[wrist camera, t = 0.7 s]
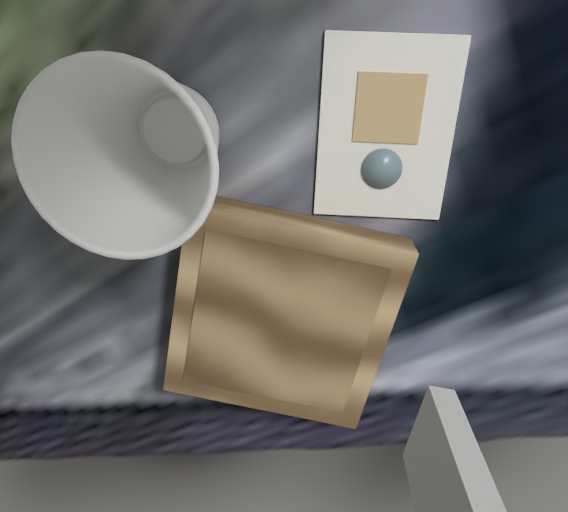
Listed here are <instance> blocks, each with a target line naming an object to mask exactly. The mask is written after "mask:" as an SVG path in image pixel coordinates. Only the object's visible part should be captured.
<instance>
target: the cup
mask: <svg viewBox="0 0 568 512" xmlns="http://www.w3.org/2000/svg"><path fill="white" fill-rule="evenodd" d="M219 134H220V133H219V125H218V121H217V118H216V115H215V113H214V111H213V109H212V107H211V106H210V105H209V103H208V102H207V101H206V99H205V98H203V97H202V96H201V95H200V94H199V93H198V92H196V91H194V90H193V89H191V88H189V87H187V86H185V85H183V84H181V83H179V82H177V81H175V80H174V79H173V78H172V77H171V76H169V75H168V74H167V73H166V72H164V71H162V70H161V69H159V68H157V67H156V66H154V65H152V64H150V63H149V62H147V61H145V60H142V59H139V58H136V57H133V56H131V55H128V54H125V53H118V52H111V51H103V50H100V51H88V52H79V53H76V54H73V55H70V56H67V57H64V58H61V59H59V60H57V61H55V62H54V63H52V64H51V65H49V66H47V67H46V68H44V69H43V70H42V71H41V72H40V73H39V74H38V75H37V76H36V77H35V78H34V79H33V80H32V81H31V82H30V83H29V84H28V86H27V88H26V90H25V91H24V93H23V95H22V96H21V98H20V100H19V102H18V105H17V108H16V112H15V115H14V118H13V123H12V135H11V145H12V154H13V162H14V165H15V168H16V171H17V175H18V178H19V181H20V183H21V185H22V187H23V189H24V191H25V193H26V195H27V197H28V199H29V201H30V202H31V203H32V205H33V206H34V207H35V209H36V210H37V211H38V213H39V214H40V216H41V217H42V218H43V219H44V220H45V221H46V222H47V223H48V224H49V225H50V226H51V227H52V228H53V229H54V230H55V231H57V232H58V233H59V234H61V235H62V236H63V237H65V238H66V239H68V240H69V241H70V242H72V243H74V244H76V245H78V246H80V247H82V248H84V249H86V250H87V251H89V252H93V253H96V254H99V255H102V256H105V257H109V258H116V259H124V260H134V259H147V258H151V257H155V256H160V255H163V254H165V253H167V252H169V251H172V250H174V249H176V248H178V247H179V246H181V245H182V244H183V243H185V242H186V241H187V240H189V239H190V238H191V237H193V235H194V234H195V233H196V232H197V231H198V230H199V228H200V227H201V226H202V225H203V224H204V222H205V220H206V219H207V217H208V215H209V213H210V211H211V209H212V207H213V204H214V201H215V197H216V193H217V190H218V181H219V162H218V154H217V153H218V146H219Z"/></svg>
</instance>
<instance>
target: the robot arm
mask: <svg viewBox="0 0 568 512" xmlns="http://www.w3.org/2000/svg"><path fill="white" fill-rule="evenodd" d="M403 458H404V462H405V467H406V472H407V476H408V480H409V485H410V489H411V494H412V498H413V502H414V507H415V511H416V512H506V509H505V507H504V505H503V502H502V500H501V497H500V495H499V493H498V491H497V488H496V486H495V483H494V481H493V479H492V476H491V474H490V472H489V469H488V467H487V465H486V462H485V460H484V458H483V455H482V453H481V451H480V448H479V446H478V443H477V441H476V439H475V436H474V434H473V432H472V429H471V427H470V425H469V422H468V420H467V418H466V415H465V413H464V411H463V408H462V406H461V404H460V401H459V399H458V397H457V394H456V392H455V390H452V389H446V388H440V387H434V386H428V389H427V391H426V394H425V397H424V399H423V402H422V405H421V407H420V410H419V413H418V415H417V418H416V421H415V423H414V426H413V429H412V431H411V434H410V437H409V439H408V442H407V445H406V448H405V450H404V453H403Z"/></svg>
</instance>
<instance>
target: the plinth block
mask: <svg viewBox="0 0 568 512" xmlns="http://www.w3.org/2000/svg"><path fill="white" fill-rule="evenodd" d="M418 256H419V253H418V251H417V250H416V248H415V246H414V244H413V242H412V240H411V239H410V238H407V237H403V236H398V235H394V234H389V233H384V232H380V231H375V230H371V229H366V228H361V227H357V226H352V225H348V224H343V223H338V222H334V221H329V220H325V219H320V218H316V217H311V216H306V215H302V214H297V213H293V212H288V211H283V210H279V209H274V208H270V207H265V206H260V205H256V204H251V203H247V202H242V201H238V200H233V199H228V198H224V197H219V196H216V197H215V201H214V204H213V207H212V209H211V211H210V213H209V215H208V217H207V219H206V220H205V222H204V224H203V225H202V226H201V227H200V228H199V230H198V231H197V232H196V233H195V234H194V235H193V237H191V238H190V239H189V240H187V241H186V242H185V243H183V244H182V247H181V255H180V263H179V270H178V278H177V286H176V294H175V301H174V309H173V317H172V324H171V332H170V340H169V348H168V355H167V363H166V371H165V379H164V386H163V390H165V391H170V392H175V393H180V394H185V395H190V396H195V397H200V398H205V399H210V400H215V401H220V402H225V403H230V404H235V405H240V406H244V407H249V408H254V409H259V410H264V411H269V412H274V413H279V414H284V415H289V416H294V417H299V418H304V419H309V420H314V421H319V422H324V423H329V424H334V425H339V426H343V427H348V428H353V429H356V427H357V424H358V422H359V419H360V416H361V413H362V411H363V408H364V405H365V402H366V399H367V397H368V394H369V391H370V388H371V386H372V383H373V380H374V377H375V375H376V372H377V369H378V366H379V363H380V361H381V358H382V355H383V352H384V350H385V347H386V344H387V341H388V339H389V336H390V333H391V330H392V328H393V325H394V322H395V319H396V316H397V314H398V311H399V308H400V305H401V303H402V300H403V297H404V294H405V292H406V289H407V286H408V283H409V280H410V278H411V275H412V272H413V269H414V267H415V264H416V261H417V258H418Z"/></svg>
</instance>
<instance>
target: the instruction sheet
mask: <svg viewBox="0 0 568 512" xmlns="http://www.w3.org/2000/svg"><path fill="white" fill-rule="evenodd" d="M470 41H471V35H453V34H424V33H394V32H365V31H335V30H325V38H324V54H323V71H322V87H321V103H320V119H319V135H318V152H317V168H316V184H315V200H314V214H328V215H349V216H369V217H390V218H411V219H432V220H439V216H440V210H441V205H442V199H443V193H444V188H445V182H446V177H447V171H448V165H449V160H450V154H451V148H452V143H453V137H454V131H455V126H456V120H457V114H458V109H459V103H460V97H461V92H462V86H463V80H464V75H465V69H466V64H467V58H468V52H469V47H470Z"/></svg>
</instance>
